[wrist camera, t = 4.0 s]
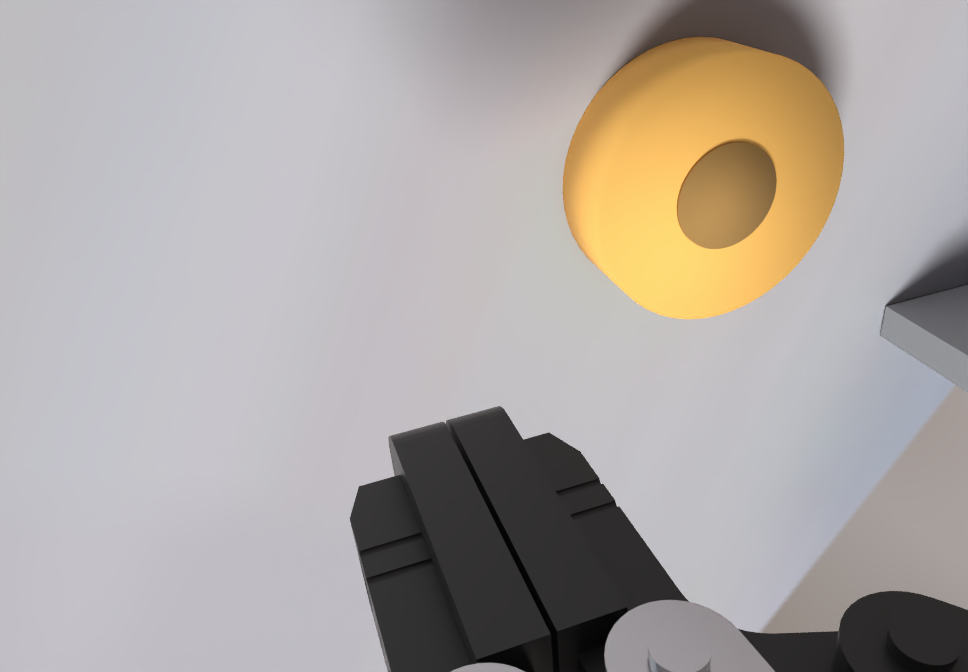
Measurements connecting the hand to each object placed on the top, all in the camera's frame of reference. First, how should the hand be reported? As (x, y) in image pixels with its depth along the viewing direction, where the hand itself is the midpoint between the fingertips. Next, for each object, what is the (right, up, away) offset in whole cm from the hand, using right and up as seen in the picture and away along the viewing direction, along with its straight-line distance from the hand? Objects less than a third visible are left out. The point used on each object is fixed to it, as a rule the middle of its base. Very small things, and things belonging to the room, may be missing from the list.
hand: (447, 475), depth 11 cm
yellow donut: (+5, +6, +9) cm, 12 cm away
